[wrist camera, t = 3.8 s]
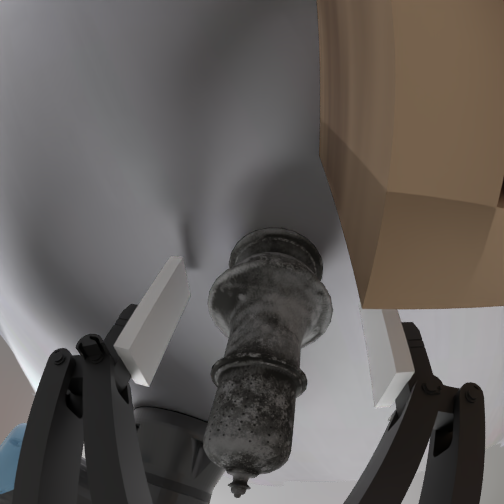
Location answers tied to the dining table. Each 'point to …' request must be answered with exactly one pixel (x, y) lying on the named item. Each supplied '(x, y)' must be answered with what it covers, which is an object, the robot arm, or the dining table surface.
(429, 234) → the wooden box
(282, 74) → the dining table surface
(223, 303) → the salt shaker
